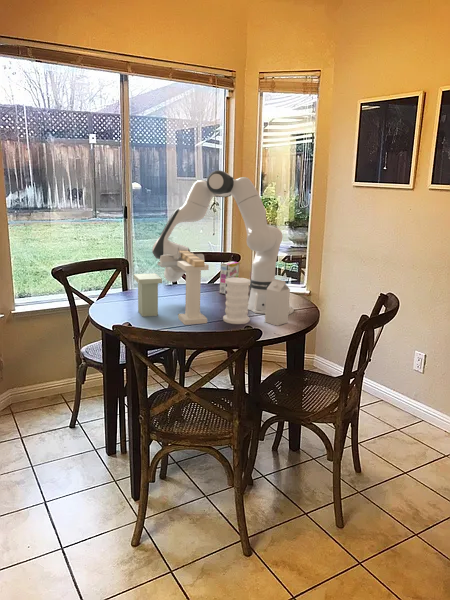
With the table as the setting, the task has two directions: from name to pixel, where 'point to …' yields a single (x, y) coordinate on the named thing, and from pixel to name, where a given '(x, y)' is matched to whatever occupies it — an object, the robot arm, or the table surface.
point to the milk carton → (277, 302)
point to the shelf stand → (192, 294)
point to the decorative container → (237, 300)
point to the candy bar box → (227, 274)
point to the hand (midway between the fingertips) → (186, 253)
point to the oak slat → (192, 258)
